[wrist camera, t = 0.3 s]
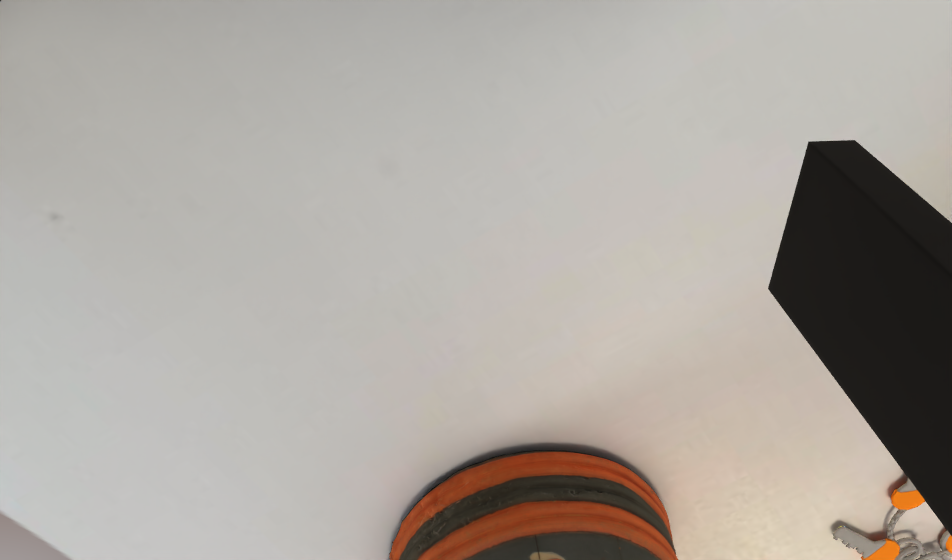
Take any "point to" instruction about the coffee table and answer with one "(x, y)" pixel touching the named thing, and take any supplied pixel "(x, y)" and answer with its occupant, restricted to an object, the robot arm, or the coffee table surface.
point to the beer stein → (538, 513)
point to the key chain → (884, 554)
